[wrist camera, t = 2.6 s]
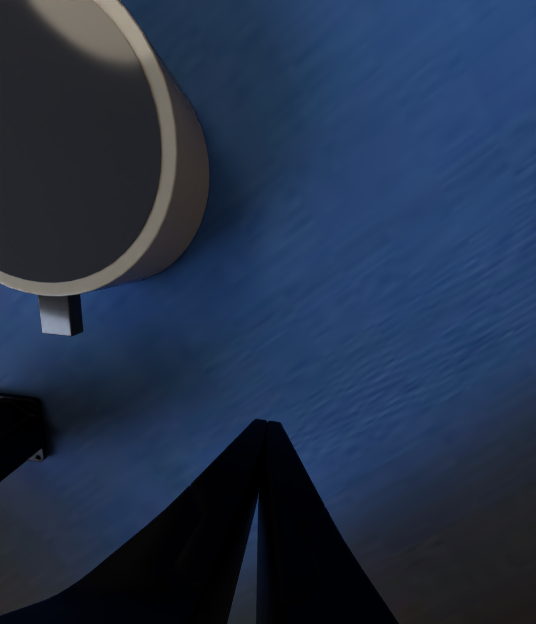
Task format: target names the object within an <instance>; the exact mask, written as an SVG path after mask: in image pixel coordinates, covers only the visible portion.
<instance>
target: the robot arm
mask: <svg viewBox="0 0 536 624" xmlns="http://www.w3.org/2000/svg"><path fill="white" fill-rule="evenodd" d="M46 458H47V448H46V441H45V433H44V426H43V419H42V411H41V404H40V401H39V399H37V398H35V397H28V396H20V395H12V394H4V393H0V482H1V481H2V480H3V479H4V478H6V477H7V476H8V475H9V474H11V473H12V472H13V471H14V470H16V469H17V468H18V467H19V466H21V465H22V464H23V463H24V462H26V461H27V460H29V461H36V462H42V461H43V460H45V459H46ZM259 487H260V488H259ZM258 494H259V498H258ZM257 500H258V542H257V603H256V624H399V623H398V622H397V620H396V619H395V617H394V616H393V614H392V613H391V611H390V610H389V608H388V607H387V605H386V604H385V602H384V601H383V599H382V598H381V596H380V595H379V593H378V592H377V590H376V589H375V587H374V586H373V584H372V583H371V581H370V580H369V578H368V577H367V575H366V574H365V572H364V571H363V569H362V568H361V566H360V565H359V563H358V562H357V560H356V558H355V557H354V555H353V554H352V552H351V551H350V549H349V548H348V546H347V544H346V543H345V541H344V540H343V538H342V536H341V534H340V532H339V531H338V529H337V527H336V525H335V524H334V522H333V520H332V518H331V516H330V514H329V512H328V511H327V509H326V508H325V506H324V503H323V501H322V500H321V498H320V496H319V494H318V492H317V490H316V488H315V486H314V484H313V483H312V481H311V479H310V477H309V475H308V473H307V471H306V469H305V468H304V466H303V464H302V462H301V460H300V458H299V456H298V454H297V452H296V451H295V449H294V447H293V445H292V443H291V441H290V439H289V437H288V436H287V434H286V432H285V430H284V428H283V426H282V424H281V423H280V422H275V421H268V423H267V421H266V420H261V419H254V420H253V421H252V422H251V423H250V424H249V425H248V427H247V428H246V429H245V430H244V431H243V432H242V433H241V434H240V435H239V436H238V437H237V438H236V439H235V440H234V441H233V442H232V443H231V444H230V445H229V446H228V447H227V448H226V449H225V450H224V451H223V452H222V453H221V454H220V455H219V456H218V457H217V458H216V459H215V460H214V461H213V462H212V463H211V464H210V465H209V466H208V467H207V468H206V469H205V470H204V471H203V472H202V473H201V474H200V475H199V476H198V477H197V478H196V479H195V480H194V481H193V482H192V483H191V486H188V487H187V488H186V489H185V490H184V491H183V492H182V493H181V494H180V495H179V496H178V497H177V498H176V499H175V500H174V501H173V502H172V503H171V504H170V505H169V506H168V507H167V508H166V509H165V510H164V511H163V512H161V513H160V514H159V515H158V516H157V517H156V518H155V519H153V520H152V521H151V522H150V523H149V524H148V525H146V526H145V527H144V528H143V529H142V530H140V531H139V532H138V533H137V534H136V535H134V536H133V537H132V538H131V539H130V540H128V541H127V542H126V543H125V544H124V545H122V546H121V547H120V548H119V549H117V550H116V551H115V552H114V553H113V554H111V555H110V556H109V557H108V558H107V559H105V560H104V561H103V562H102V563H100V564H99V565H98V566H97V567H96V568H94V569H93V570H92V571H91V572H89V573H88V574H87V575H86V576H84V577H83V578H82V579H80V580H79V581H78V582H76V583H75V584H73V585H72V586H70V587H69V588H67V589H65V590H64V591H62V592H60V593H59V594H57V595H55V596H53V597H51V598H49V599H46V600H44V601H41V602H38V603H35V604H32V605H30V606H27V607H24V608H21V609H18V610H15V611H12V612H9V613H7V614H4V615H1V616H0V624H227V622H228V618H229V614H230V610H231V606H232V601H233V597H234V593H235V589H236V585H237V581H238V577H239V573H240V569H241V565H242V561H243V557H244V553H245V549H246V545H247V541H248V537H249V533H250V529H251V525H252V521H253V517H254V513H255V509H256V504H257Z"/></svg>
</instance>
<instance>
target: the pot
mask: <svg viewBox="0 0 536 624" xmlns="http://www.w3.org/2000/svg"><path fill="white" fill-rule="evenodd" d="M209 180H210V179H209V160H208V153H207V146H206V142H205V139H204V135H203V131H202V128H201V125H200V123H199V120H198V118H197V115H196V113H195V111H194V109H193V107H192V105H191V103H190V101H189V100H188V98H187V96H186V95H185V93H184V92H183V90H182V89H181V87H180V86H179V84H178V83H177V81H176V80H175V78H174V77H173V75H172V74H171V72H170V71H169V69H168V68H167V66H166V65H165V64H164V62H163V61H162V59H161V58H160V56H159V55H158V53H157V52H156V50H155V49H154V47H153V46H152V44H151V43H150V41H149V40H148V38H147V37H146V35H145V34H144V33H143V31H142V30H141V28H140V27H139V25H138V24H137V23H136V21H135V20H134V18H133V17H132V15H131V14H130V13H129V11H128V10H127V9H126V7H125V6H124V5H123V4H122V3H121V2H120V1H119V0H0V284H3V285H5V286H7V287H10V288H13V289H16V290H20V291H23V292H26V293H31V294H37V295H38V303H39V311H40V319H41V327H42V333H46V334H55V335H64V336H74V335H77V334H79V333H82V332H83V321H82V310H81V298H80V294H83V293H87V292H92V291H97V290H101V289H106V288H111V287H115V286H120V285H125V284H129V283H134V282H137V281H141V280H145V279H147V278H149V277H152V276H154V275H156V274H158V273H159V272H161V271H163V270H164V269H166V268H167V267H168V266H170V265H171V264H172V263H173V262H175V261H176V260H177V259H178V258H179V257H180V255H181V254H182V253H183V252H184V251H185V250H186V249H187V247H188V246H189V244H190V243H191V241H192V240H193V238H194V236H195V234H196V232H197V230H198V228H199V226H200V224H201V221H202V218H203V215H204V212H205V208H206V203H207V199H208V191H209Z"/></svg>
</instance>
